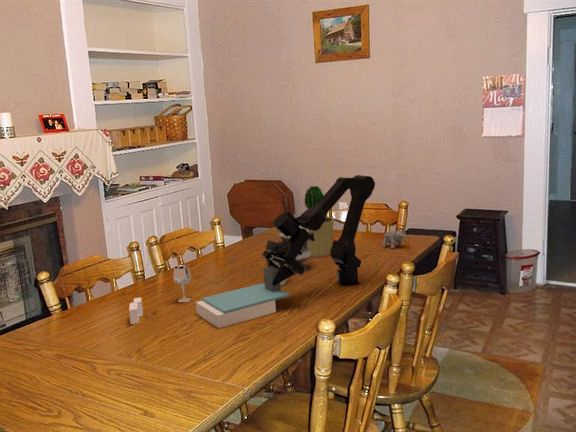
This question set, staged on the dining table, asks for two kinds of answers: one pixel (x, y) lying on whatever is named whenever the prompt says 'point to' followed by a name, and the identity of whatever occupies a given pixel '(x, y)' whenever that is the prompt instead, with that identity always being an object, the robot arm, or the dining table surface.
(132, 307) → the napkin holder
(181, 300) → the wineglass
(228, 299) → the lid
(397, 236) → the gray elephant figurine
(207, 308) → the carton
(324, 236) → the potted cactus
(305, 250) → the apothecary jar
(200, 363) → the dining table surface
